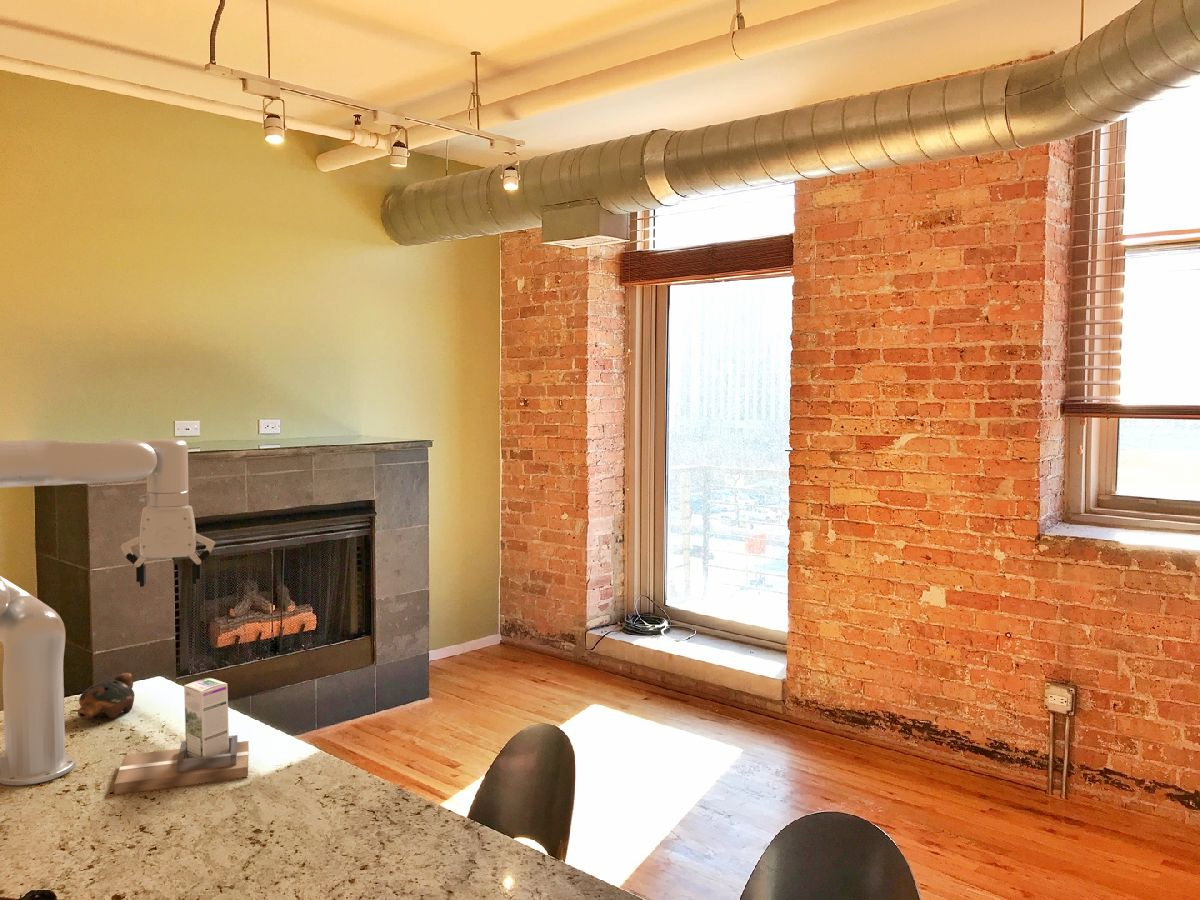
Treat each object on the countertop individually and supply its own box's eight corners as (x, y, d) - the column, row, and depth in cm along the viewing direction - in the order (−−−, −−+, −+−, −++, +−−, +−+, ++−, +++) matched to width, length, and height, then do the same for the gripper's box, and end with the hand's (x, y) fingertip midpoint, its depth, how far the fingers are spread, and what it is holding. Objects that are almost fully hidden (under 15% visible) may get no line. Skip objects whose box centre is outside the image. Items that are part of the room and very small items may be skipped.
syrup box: (230, 756, 171) (229, 681, 170) (202, 767, 166) (200, 690, 165) (212, 749, 174) (211, 676, 173) (184, 759, 170) (183, 684, 169)
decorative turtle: (149, 704, 204) (148, 670, 203) (107, 733, 189) (106, 697, 188) (108, 699, 205) (108, 666, 204) (63, 729, 190) (62, 693, 189)
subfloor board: (114, 794, 159) (114, 772, 159) (124, 765, 171) (124, 745, 171) (247, 777, 167) (247, 756, 167) (248, 750, 179) (248, 731, 179)
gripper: (116, 503, 175) (118, 590, 176) (213, 501, 181) (214, 585, 182) (123, 499, 182) (124, 582, 183) (215, 497, 188) (216, 578, 189)
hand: (169, 584), depth 182 cm, fingers open, 9 cm apart
